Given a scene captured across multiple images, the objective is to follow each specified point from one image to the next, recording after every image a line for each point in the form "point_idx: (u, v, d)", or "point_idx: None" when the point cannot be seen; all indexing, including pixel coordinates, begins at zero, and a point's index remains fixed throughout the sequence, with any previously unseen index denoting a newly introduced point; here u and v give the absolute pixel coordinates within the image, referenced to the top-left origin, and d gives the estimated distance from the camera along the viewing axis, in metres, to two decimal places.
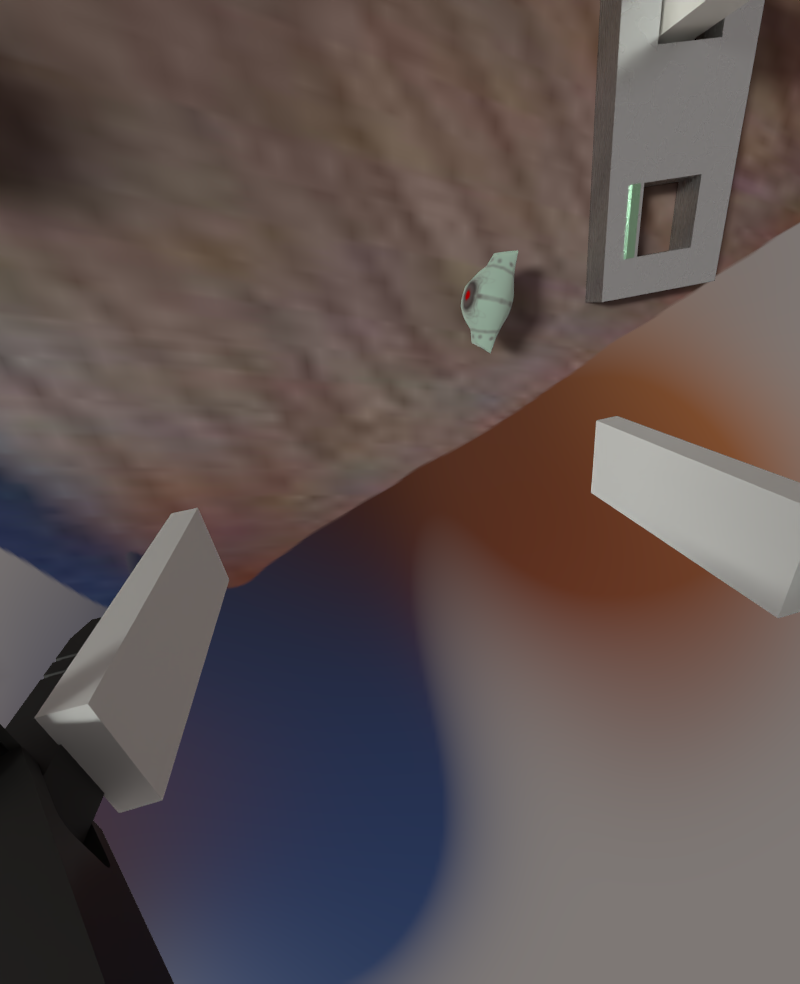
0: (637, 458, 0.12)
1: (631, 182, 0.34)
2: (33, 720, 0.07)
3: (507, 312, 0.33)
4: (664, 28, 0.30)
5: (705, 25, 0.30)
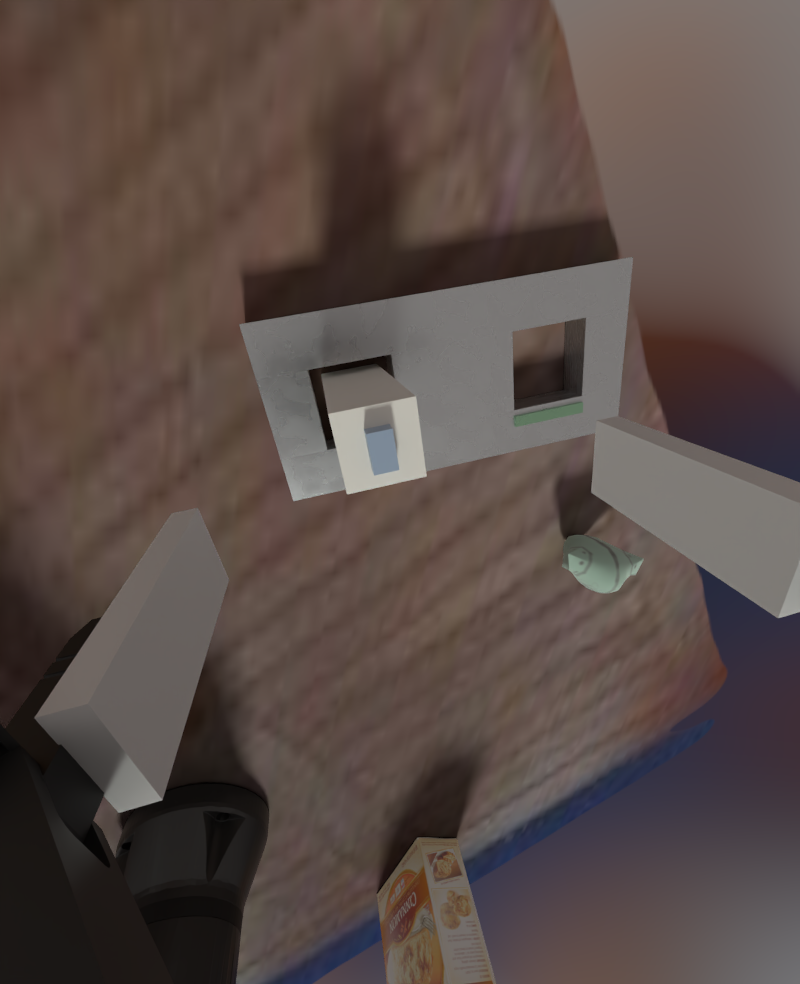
0: (637, 458, 0.12)
1: (512, 426, 0.30)
2: (32, 720, 0.07)
3: (622, 563, 0.34)
4: None
5: None
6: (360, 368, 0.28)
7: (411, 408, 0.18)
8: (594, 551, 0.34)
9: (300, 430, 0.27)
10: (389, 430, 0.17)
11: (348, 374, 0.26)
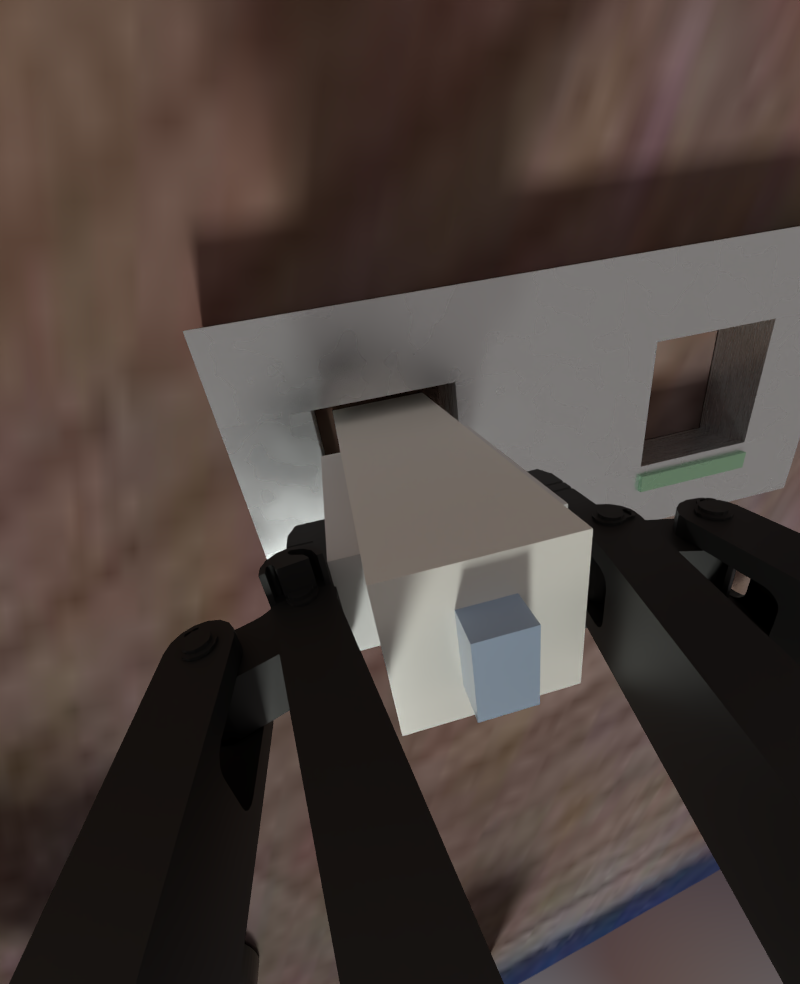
0: None
1: (634, 490, 0.19)
2: None
3: None
4: None
5: None
6: (398, 402, 0.17)
7: (576, 556, 0.07)
8: None
9: (298, 509, 0.16)
10: (532, 629, 0.06)
11: (381, 416, 0.15)
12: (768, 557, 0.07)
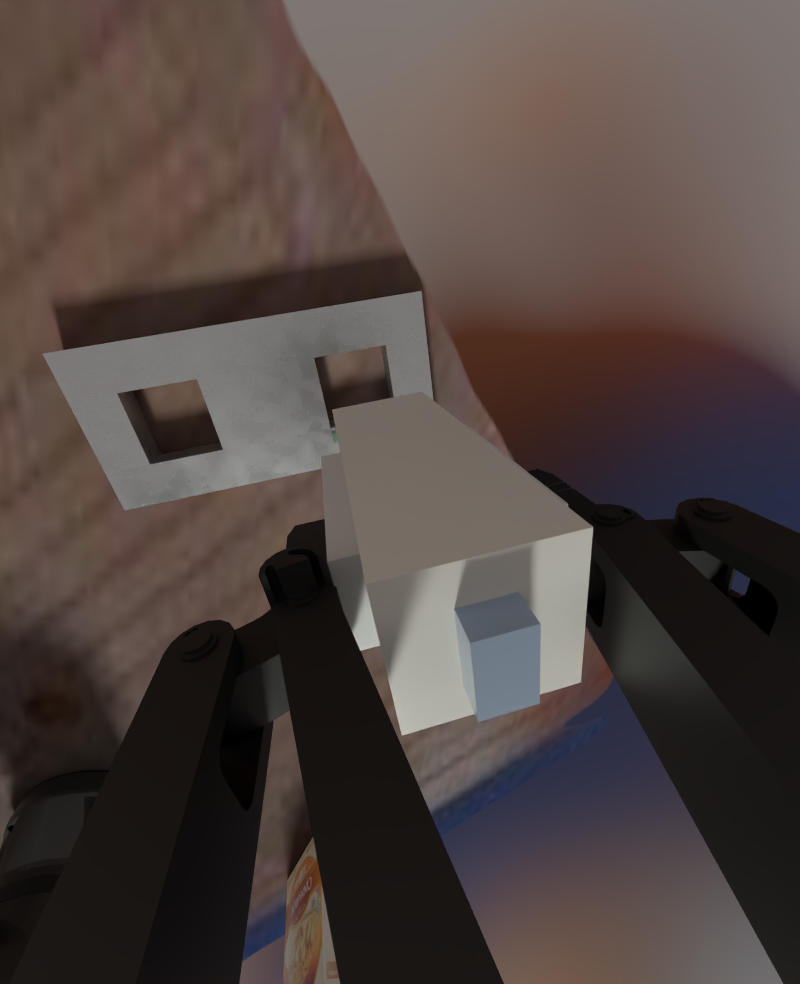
0: None
1: (331, 442, 0.33)
2: None
3: None
4: None
5: None
6: (398, 401, 0.17)
7: (576, 554, 0.07)
8: None
9: (120, 447, 0.30)
10: (532, 628, 0.06)
11: (380, 415, 0.15)
12: (768, 557, 0.07)
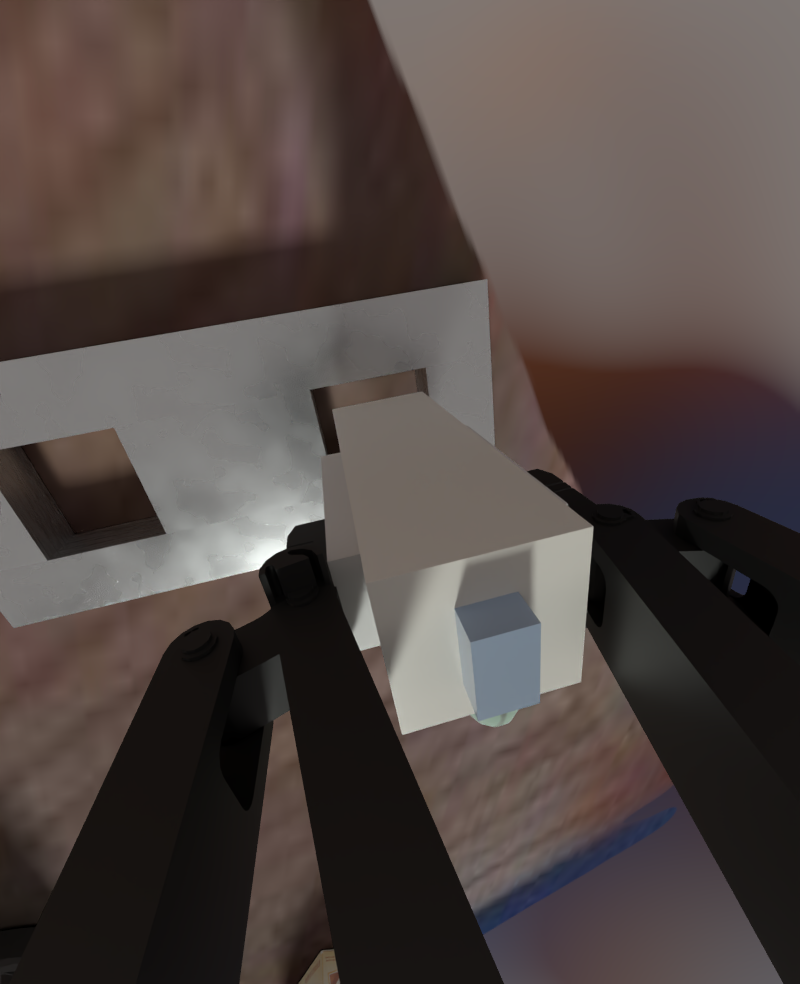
0: None
1: None
2: None
3: None
4: None
5: None
6: (398, 401, 0.17)
7: (576, 554, 0.07)
8: None
9: None
10: (532, 628, 0.06)
11: (381, 415, 0.15)
12: (768, 557, 0.07)
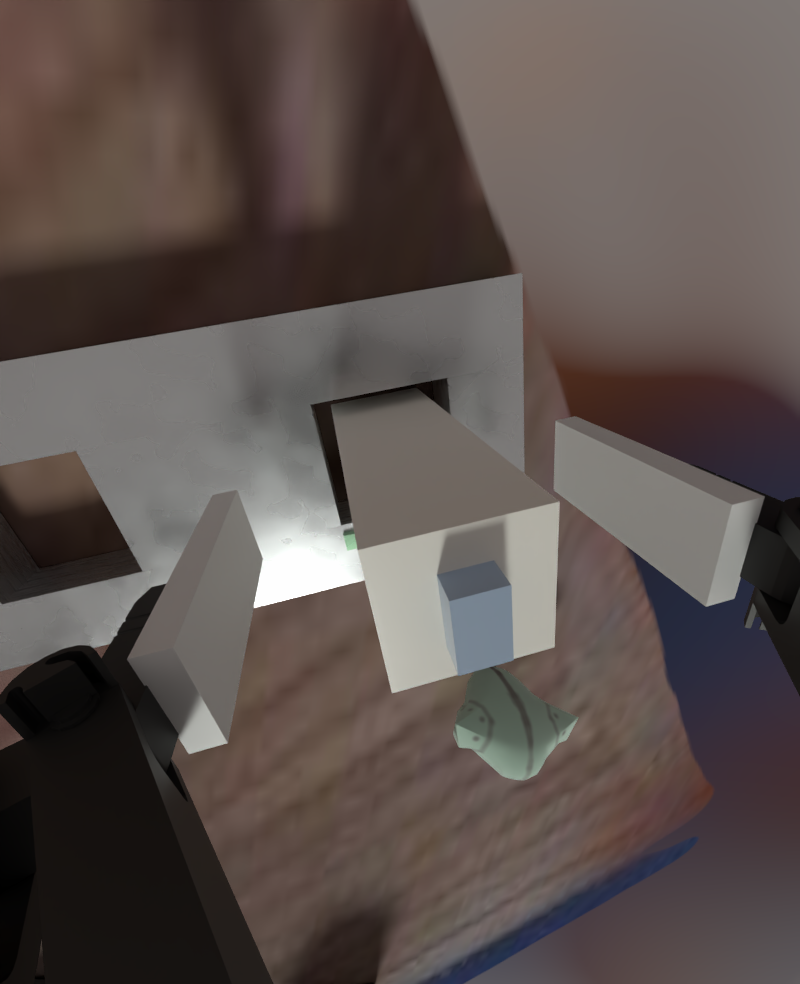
0: (589, 456, 0.12)
1: (343, 548, 0.18)
2: (116, 667, 0.07)
3: (539, 738, 0.22)
4: None
5: None
6: (393, 397, 0.17)
7: (545, 526, 0.08)
8: (498, 717, 0.22)
9: None
10: (504, 589, 0.07)
11: (376, 409, 0.16)
12: None
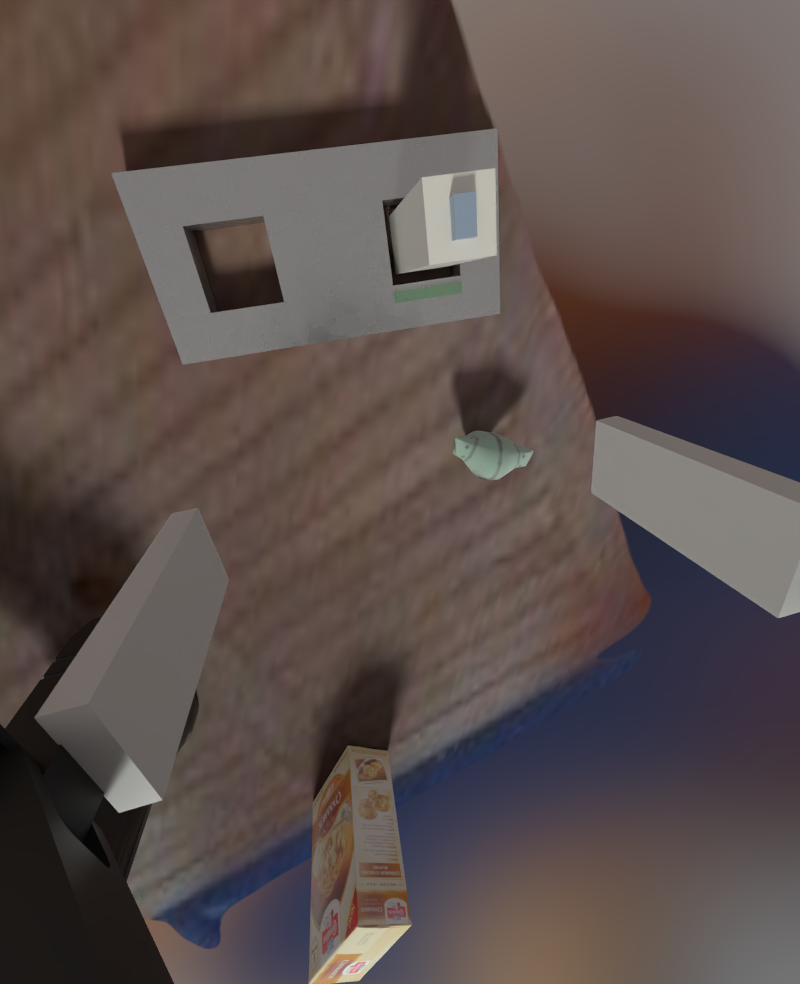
0: (637, 458, 0.12)
1: (393, 303, 0.32)
2: (32, 720, 0.07)
3: (506, 449, 0.36)
4: (446, 266, 0.32)
5: None
6: None
7: (490, 180, 0.21)
8: (481, 437, 0.36)
9: (182, 290, 0.29)
10: (473, 192, 0.21)
11: None
12: None
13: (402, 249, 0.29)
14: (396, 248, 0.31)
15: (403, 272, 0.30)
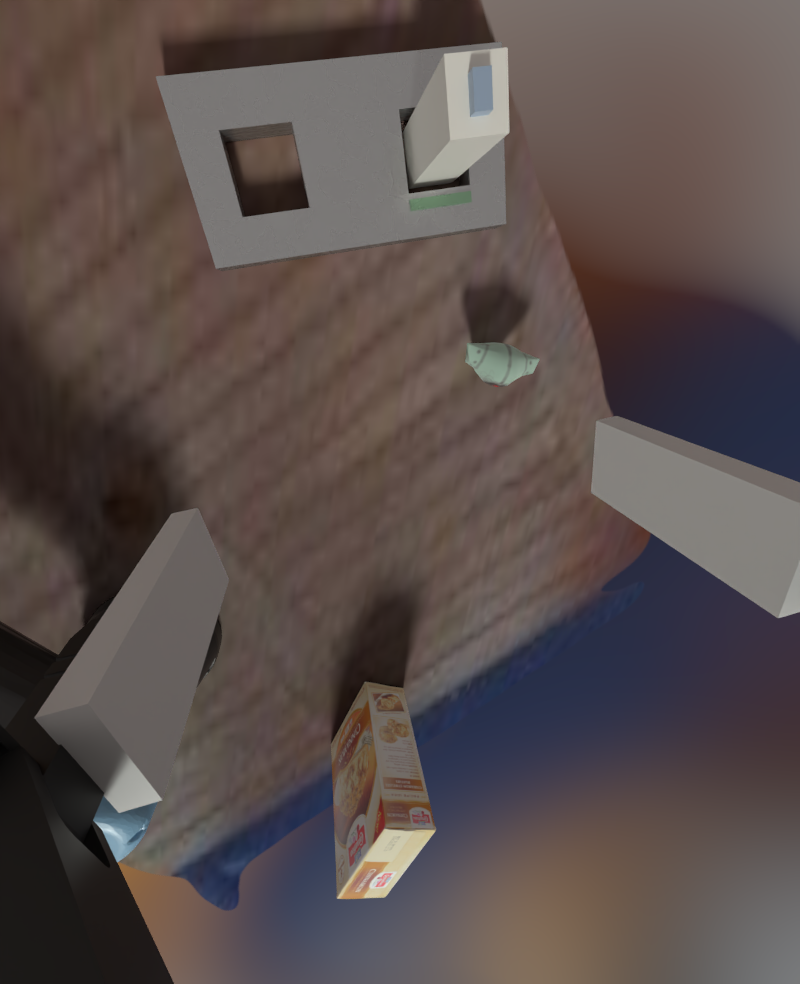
0: (637, 458, 0.12)
1: (408, 211, 0.35)
2: (33, 720, 0.07)
3: (515, 353, 0.38)
4: (456, 176, 0.34)
5: None
6: None
7: (503, 59, 0.24)
8: (491, 344, 0.39)
9: (216, 193, 0.32)
10: (489, 66, 0.24)
11: None
12: None
13: (418, 152, 0.31)
14: (411, 158, 0.34)
15: (418, 179, 0.33)
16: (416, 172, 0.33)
